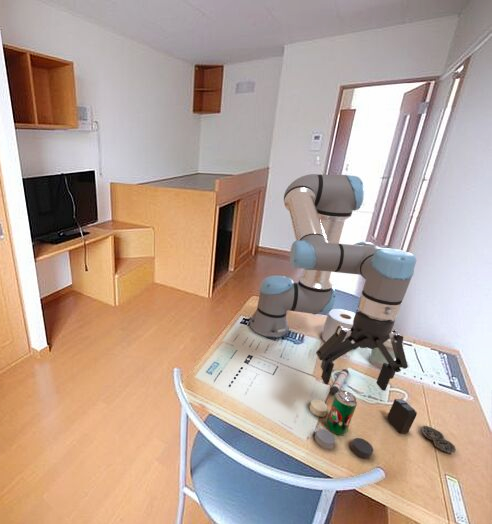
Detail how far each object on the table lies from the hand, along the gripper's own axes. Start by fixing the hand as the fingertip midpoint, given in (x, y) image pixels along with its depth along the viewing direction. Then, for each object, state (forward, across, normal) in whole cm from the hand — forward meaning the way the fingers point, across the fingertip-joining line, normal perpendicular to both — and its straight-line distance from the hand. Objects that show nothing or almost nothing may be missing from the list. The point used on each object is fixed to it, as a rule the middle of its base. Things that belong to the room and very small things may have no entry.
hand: (352, 383), depth 80 cm
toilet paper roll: (+16, +18, +44) cm, 50 cm away
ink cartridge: (+17, +18, +4) cm, 24 cm away
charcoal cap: (+16, +3, -6) cm, 18 cm away
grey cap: (+16, -5, -5) cm, 18 cm away
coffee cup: (+16, +28, +32) cm, 45 cm away
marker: (+16, +8, +18) cm, 26 cm away
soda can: (+17, 0, 0) cm, 17 cm away
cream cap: (+16, -3, +6) cm, 18 cm away
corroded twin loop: (+16, +25, 0) cm, 30 cm away
